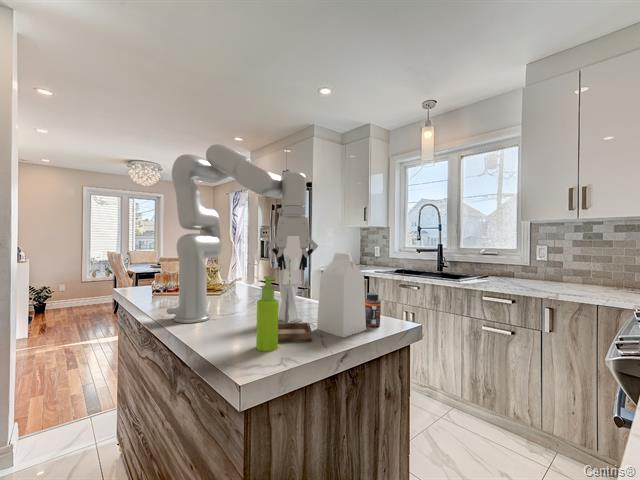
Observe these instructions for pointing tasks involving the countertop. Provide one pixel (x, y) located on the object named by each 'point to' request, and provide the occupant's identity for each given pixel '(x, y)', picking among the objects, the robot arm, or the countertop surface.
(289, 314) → the skyscraper
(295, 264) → the beer glass
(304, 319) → the countertop surface
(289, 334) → the walnut tray
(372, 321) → the supplement bottle
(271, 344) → the soap dispenser
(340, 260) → the milk
